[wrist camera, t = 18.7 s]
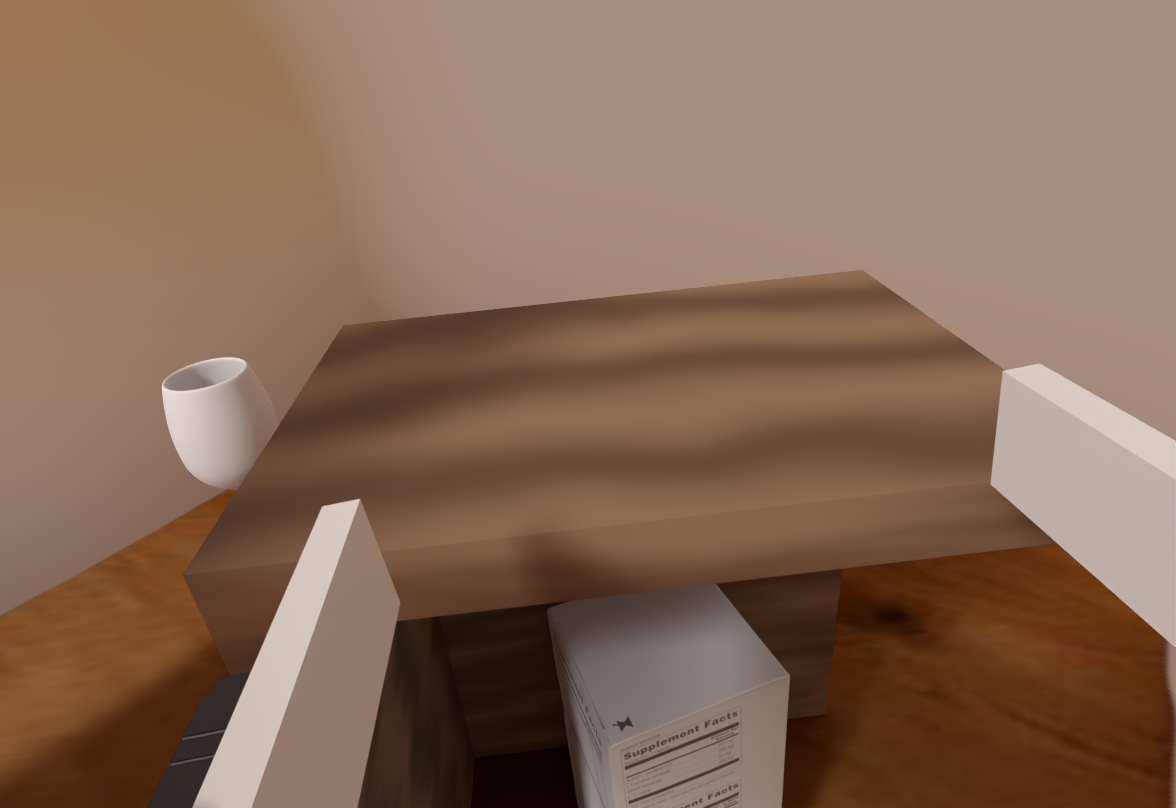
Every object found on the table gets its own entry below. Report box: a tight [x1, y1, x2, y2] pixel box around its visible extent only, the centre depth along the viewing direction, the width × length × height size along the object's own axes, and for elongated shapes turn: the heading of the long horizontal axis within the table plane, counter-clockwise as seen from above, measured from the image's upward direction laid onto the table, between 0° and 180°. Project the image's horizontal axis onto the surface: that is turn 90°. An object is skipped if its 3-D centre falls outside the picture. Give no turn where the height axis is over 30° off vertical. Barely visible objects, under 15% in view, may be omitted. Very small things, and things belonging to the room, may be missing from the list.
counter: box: [183, 270, 1056, 808], centre depth 34 cm, size 18×26×32 cm
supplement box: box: [547, 584, 790, 808], centre depth 38 cm, size 10×9×17 cm
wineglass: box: [162, 357, 279, 490], centre depth 63 cm, size 9×9×21 cm
